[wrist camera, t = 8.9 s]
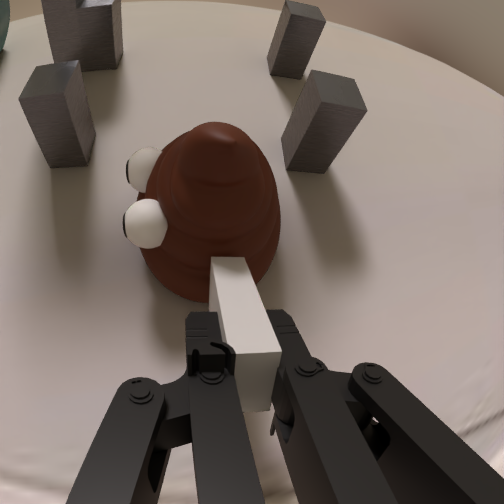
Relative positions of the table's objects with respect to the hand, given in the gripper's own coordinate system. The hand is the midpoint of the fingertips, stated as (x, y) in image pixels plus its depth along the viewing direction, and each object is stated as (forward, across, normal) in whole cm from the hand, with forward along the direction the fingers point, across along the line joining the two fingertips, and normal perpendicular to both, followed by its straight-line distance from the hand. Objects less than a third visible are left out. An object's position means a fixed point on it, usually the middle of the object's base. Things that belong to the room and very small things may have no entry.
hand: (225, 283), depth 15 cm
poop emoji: (+6, -1, +1) cm, 6 cm away
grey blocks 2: (+10, -2, +5) cm, 11 cm away
